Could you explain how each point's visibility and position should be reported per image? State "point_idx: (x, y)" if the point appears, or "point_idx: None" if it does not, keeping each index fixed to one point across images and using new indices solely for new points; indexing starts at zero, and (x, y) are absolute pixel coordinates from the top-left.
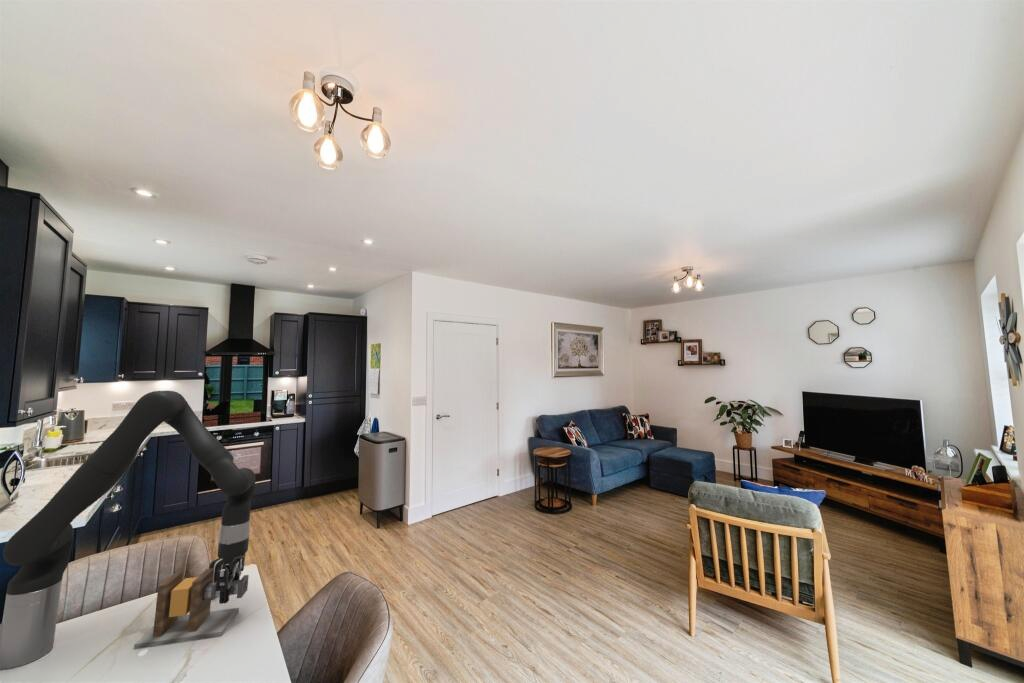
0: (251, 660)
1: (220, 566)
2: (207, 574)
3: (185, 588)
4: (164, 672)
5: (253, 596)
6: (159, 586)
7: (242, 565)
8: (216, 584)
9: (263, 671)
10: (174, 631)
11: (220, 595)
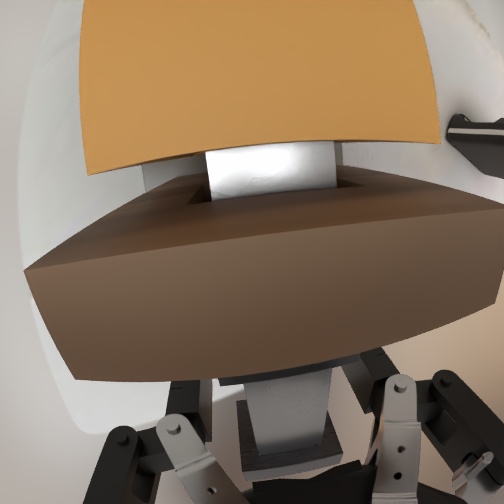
0: (95, 403)
1: None
2: (324, 359)
3: (91, 128)
4: (24, 235)
5: None
6: None
7: (430, 441)
8: (95, 470)
9: (78, 421)
10: None
11: (169, 397)
